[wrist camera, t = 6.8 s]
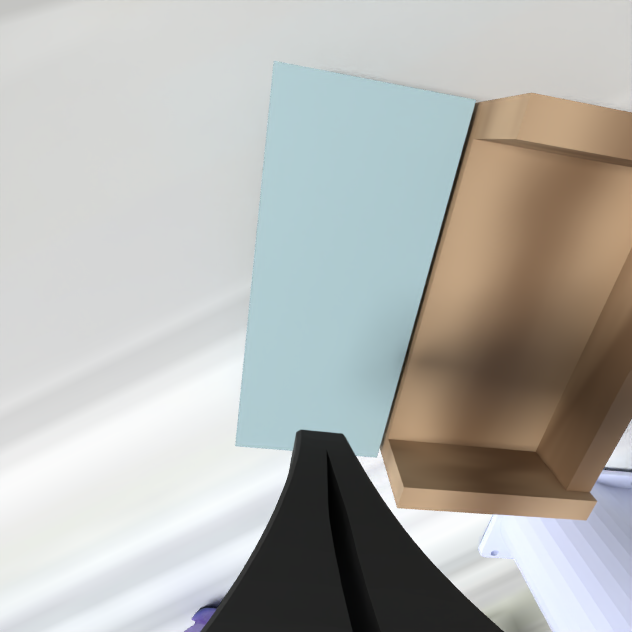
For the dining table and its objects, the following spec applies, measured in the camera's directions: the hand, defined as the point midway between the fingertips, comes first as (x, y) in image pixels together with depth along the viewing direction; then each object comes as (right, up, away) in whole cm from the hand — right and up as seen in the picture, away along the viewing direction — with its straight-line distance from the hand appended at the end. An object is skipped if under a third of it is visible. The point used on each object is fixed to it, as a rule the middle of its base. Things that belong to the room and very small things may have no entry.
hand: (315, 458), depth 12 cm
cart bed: (+9, +5, +9) cm, 13 cm away
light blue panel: (+4, +4, +6) cm, 8 cm away
